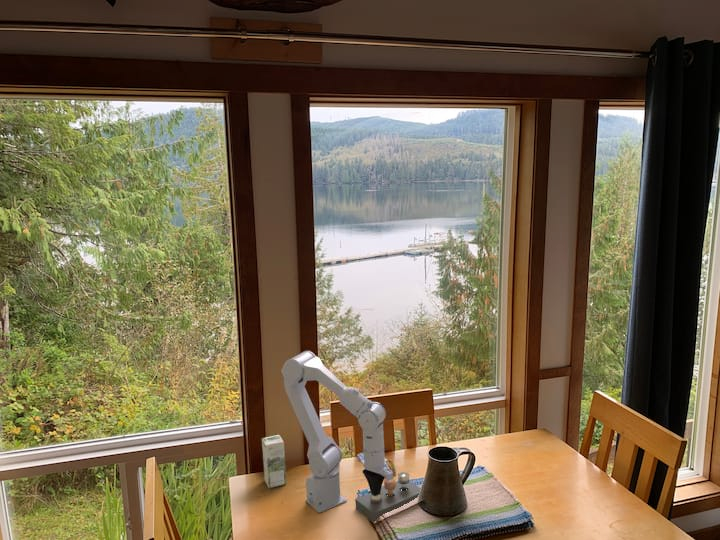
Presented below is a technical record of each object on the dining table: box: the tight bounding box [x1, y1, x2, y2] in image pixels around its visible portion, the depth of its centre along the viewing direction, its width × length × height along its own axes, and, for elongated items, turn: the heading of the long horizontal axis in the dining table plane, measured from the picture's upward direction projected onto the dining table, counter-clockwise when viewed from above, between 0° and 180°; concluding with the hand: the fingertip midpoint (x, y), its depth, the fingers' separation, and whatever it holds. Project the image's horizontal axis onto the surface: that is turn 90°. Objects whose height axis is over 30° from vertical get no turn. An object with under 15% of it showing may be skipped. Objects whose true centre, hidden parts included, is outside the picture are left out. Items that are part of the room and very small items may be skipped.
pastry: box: [386, 458, 397, 476], centre depth 170 cm, size 9×7×4 cm
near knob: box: [369, 492, 382, 504], centre depth 149 cm, size 3×3×5 cm
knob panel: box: [354, 480, 422, 523], centre depth 152 cm, size 18×9×3 cm, turn 124°
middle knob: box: [383, 477, 396, 498], centre depth 151 cm, size 3×3×5 cm
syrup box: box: [261, 434, 287, 490], centre depth 166 cm, size 6×6×14 cm
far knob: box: [397, 471, 410, 492], centre depth 154 cm, size 3×3×5 cm
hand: (375, 494), depth 149 cm, fingers closed, pressing on near knob
